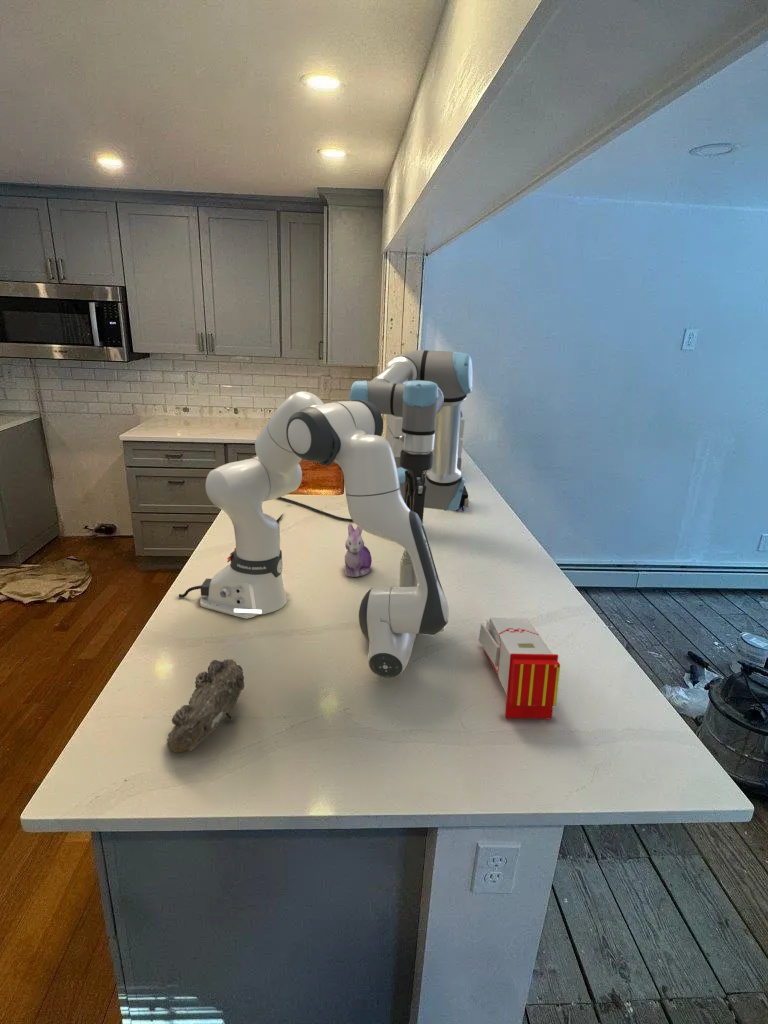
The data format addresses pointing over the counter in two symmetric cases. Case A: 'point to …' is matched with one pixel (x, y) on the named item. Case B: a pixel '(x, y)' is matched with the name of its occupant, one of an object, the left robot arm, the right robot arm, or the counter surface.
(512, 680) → the toy
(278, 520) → the feather
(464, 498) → the figurine character
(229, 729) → the counter surface
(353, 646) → the counter surface
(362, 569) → the figurine
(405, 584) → the bottle
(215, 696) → the fossil
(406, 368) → the right robot arm
